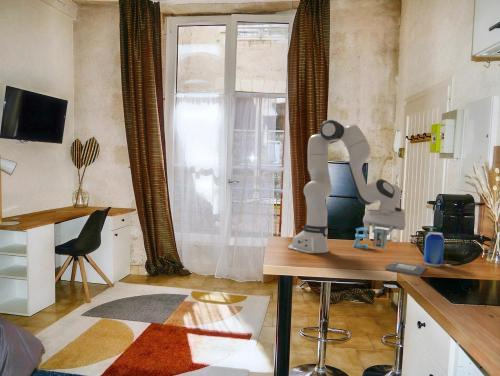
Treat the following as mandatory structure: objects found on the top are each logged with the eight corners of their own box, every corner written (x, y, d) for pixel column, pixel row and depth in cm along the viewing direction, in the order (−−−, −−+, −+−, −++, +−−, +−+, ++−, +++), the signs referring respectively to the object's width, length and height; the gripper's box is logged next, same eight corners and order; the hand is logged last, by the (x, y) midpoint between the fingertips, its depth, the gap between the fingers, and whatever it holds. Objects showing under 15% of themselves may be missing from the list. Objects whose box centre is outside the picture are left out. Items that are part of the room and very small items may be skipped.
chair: (352, 245, 233) (353, 225, 232) (367, 246, 231) (368, 226, 231) (353, 248, 226) (354, 227, 225) (368, 249, 224) (369, 228, 223)
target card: (385, 269, 181) (385, 267, 181) (393, 263, 194) (393, 260, 194) (419, 276, 173) (420, 273, 173) (426, 268, 186) (426, 266, 186)
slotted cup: (373, 246, 192) (374, 229, 191) (375, 245, 196) (377, 228, 195) (383, 248, 189) (384, 231, 189) (386, 246, 193) (387, 229, 193)
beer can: (424, 265, 191) (426, 233, 190) (423, 261, 199) (425, 230, 198) (443, 268, 188) (445, 235, 187) (441, 263, 196) (443, 232, 195)
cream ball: (378, 233, 192) (384, 232, 193) (376, 237, 194) (381, 236, 195) (381, 238, 190) (386, 237, 191) (379, 241, 192) (384, 241, 193)
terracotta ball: (375, 247, 192) (373, 242, 192) (377, 244, 195) (375, 238, 194) (381, 246, 191) (379, 241, 190) (383, 243, 193) (381, 238, 192)
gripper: (365, 205, 203) (358, 226, 195) (407, 210, 191) (401, 232, 184) (367, 213, 207) (360, 233, 199) (408, 218, 196) (402, 240, 188)
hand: (380, 233), depth 192 cm, fingers closed on slotted cup, 5 cm apart
